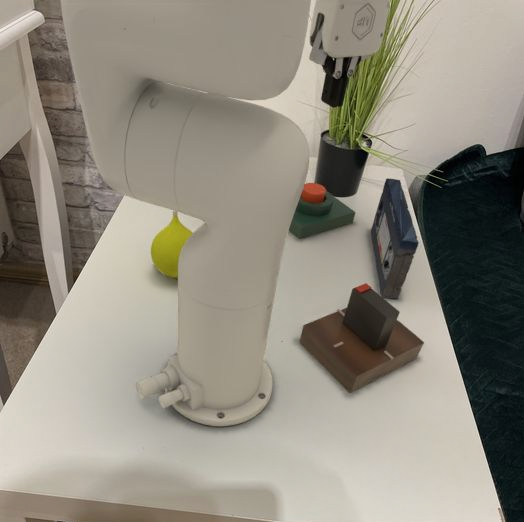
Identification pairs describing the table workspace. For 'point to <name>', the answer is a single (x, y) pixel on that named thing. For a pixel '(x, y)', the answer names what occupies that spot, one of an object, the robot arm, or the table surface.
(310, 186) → the button
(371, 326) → the grey square slab
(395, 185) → the vhs cassette tape
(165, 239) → the ornament
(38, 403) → the table surface
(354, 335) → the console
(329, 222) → the button box
